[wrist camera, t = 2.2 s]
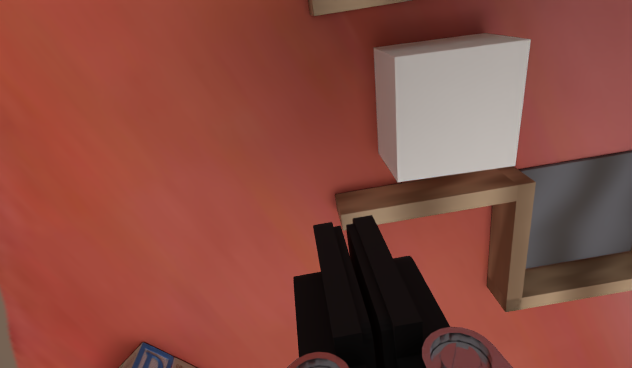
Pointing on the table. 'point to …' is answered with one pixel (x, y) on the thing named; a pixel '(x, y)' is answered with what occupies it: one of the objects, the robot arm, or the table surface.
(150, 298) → the table surface
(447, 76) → the cream block
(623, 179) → the low wooden maze walls
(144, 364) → the stack of blocks
